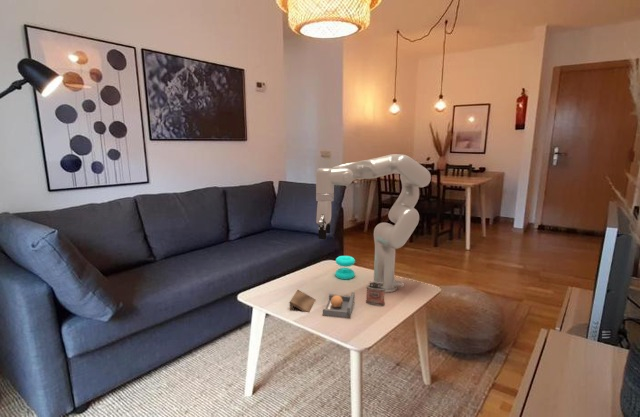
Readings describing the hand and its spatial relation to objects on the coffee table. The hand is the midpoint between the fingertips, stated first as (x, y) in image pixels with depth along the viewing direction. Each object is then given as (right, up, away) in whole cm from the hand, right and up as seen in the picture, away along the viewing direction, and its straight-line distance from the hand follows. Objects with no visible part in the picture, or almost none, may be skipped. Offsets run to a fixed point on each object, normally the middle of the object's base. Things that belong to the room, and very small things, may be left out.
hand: (324, 235), depth 153 cm
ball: (+4, -29, -5) cm, 30 cm away
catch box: (+6, -30, -6) cm, 31 cm away
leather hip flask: (+22, -29, -1) cm, 37 cm away
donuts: (+11, -24, +29) cm, 39 cm away
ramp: (-9, -29, -3) cm, 31 cm away
